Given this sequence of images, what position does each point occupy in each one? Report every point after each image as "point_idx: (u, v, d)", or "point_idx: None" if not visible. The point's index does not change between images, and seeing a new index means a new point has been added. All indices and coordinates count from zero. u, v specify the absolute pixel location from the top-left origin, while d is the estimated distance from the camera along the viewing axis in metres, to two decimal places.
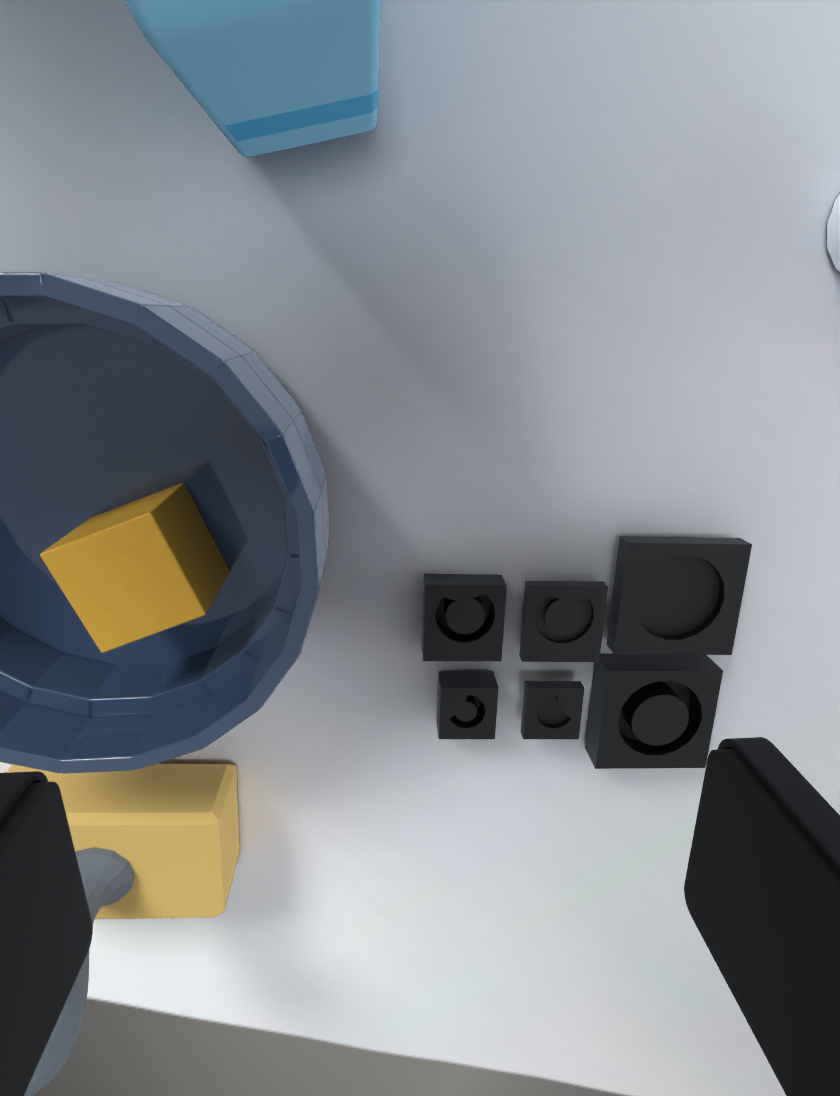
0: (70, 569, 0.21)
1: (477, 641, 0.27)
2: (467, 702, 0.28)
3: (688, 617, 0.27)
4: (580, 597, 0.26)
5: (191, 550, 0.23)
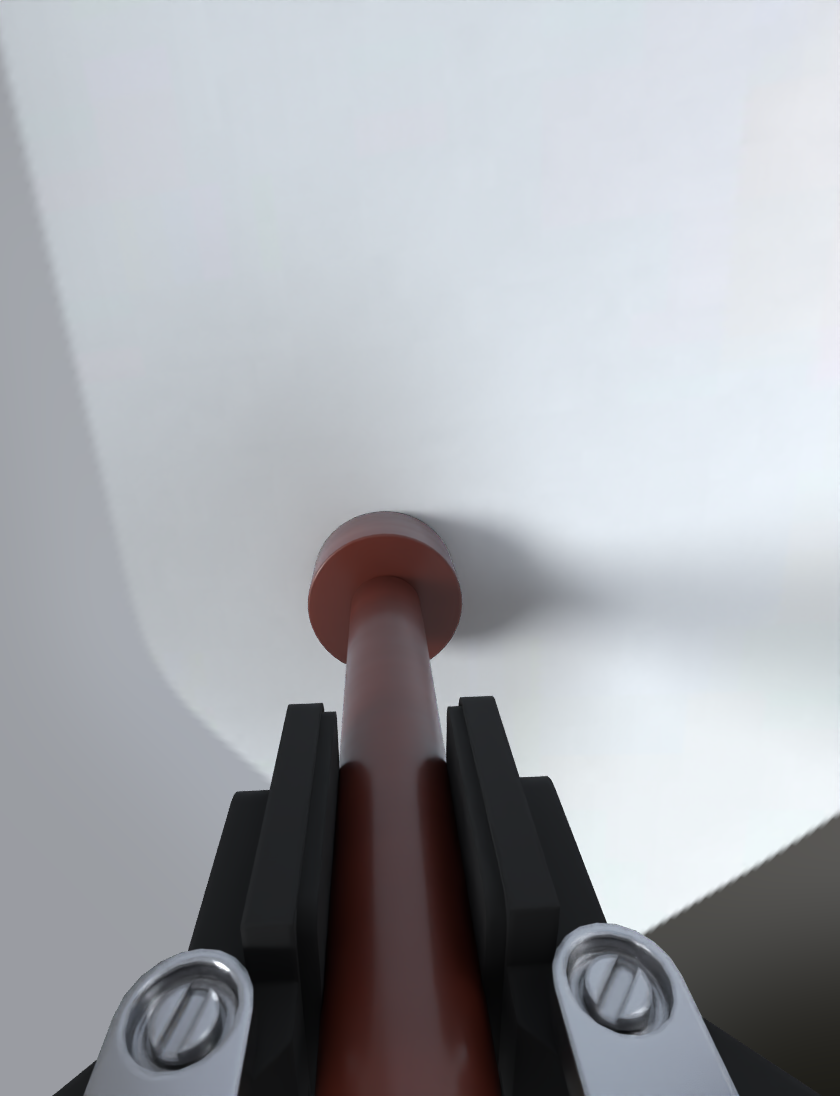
0: None
1: None
2: None
3: None
4: None
5: None
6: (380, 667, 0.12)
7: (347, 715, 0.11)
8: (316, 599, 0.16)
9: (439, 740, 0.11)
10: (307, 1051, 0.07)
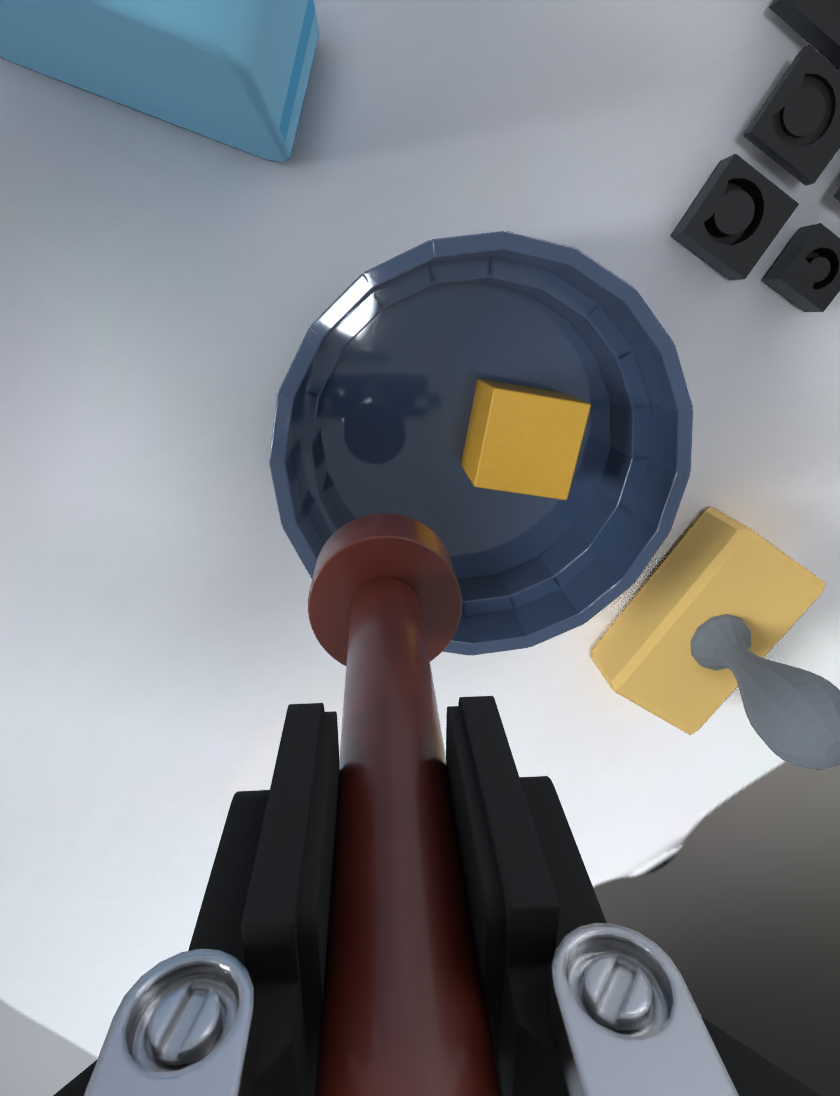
0: (497, 474, 0.26)
1: (764, 216, 0.26)
2: (811, 262, 0.27)
3: None
4: (798, 81, 0.25)
5: (534, 391, 0.26)
6: (380, 669, 0.12)
7: (347, 718, 0.11)
8: (316, 601, 0.16)
9: (439, 743, 0.11)
10: (307, 1051, 0.07)
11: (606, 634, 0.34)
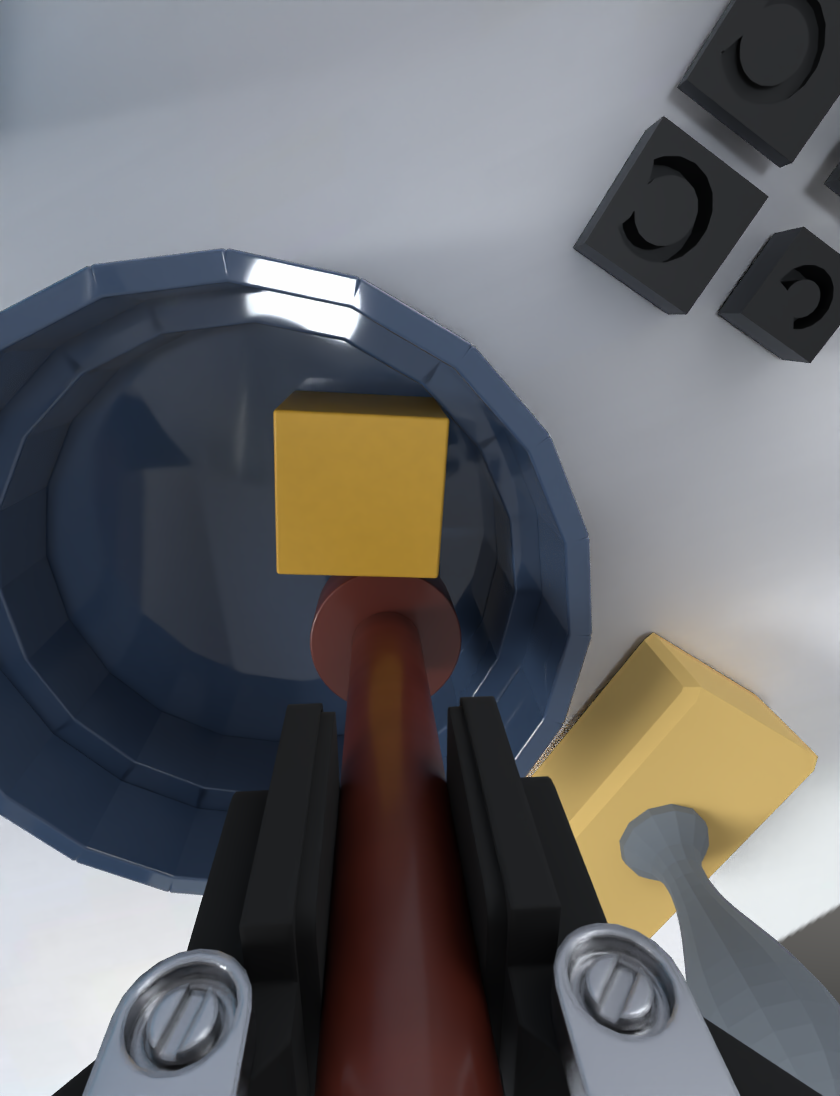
0: (310, 550, 0.15)
1: (714, 216, 0.17)
2: (791, 287, 0.17)
3: None
4: None
5: (364, 405, 0.16)
6: (383, 692, 0.12)
7: (349, 736, 0.11)
8: (318, 633, 0.17)
9: (440, 762, 0.11)
10: (306, 1051, 0.07)
11: None
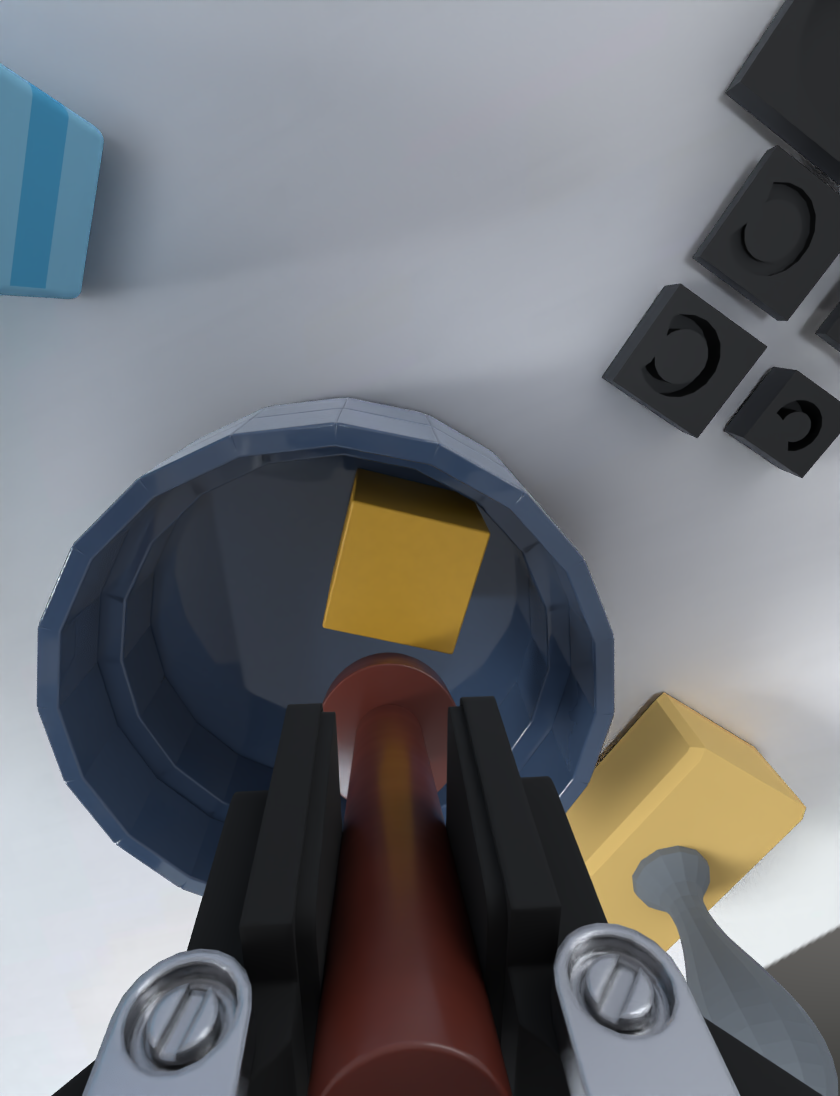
0: (354, 614, 0.18)
1: (721, 361, 0.20)
2: (786, 417, 0.20)
3: None
4: (763, 192, 0.18)
5: (420, 502, 0.19)
6: (389, 755, 0.13)
7: (354, 790, 0.12)
8: None
9: (442, 817, 0.11)
10: (306, 1052, 0.07)
11: None
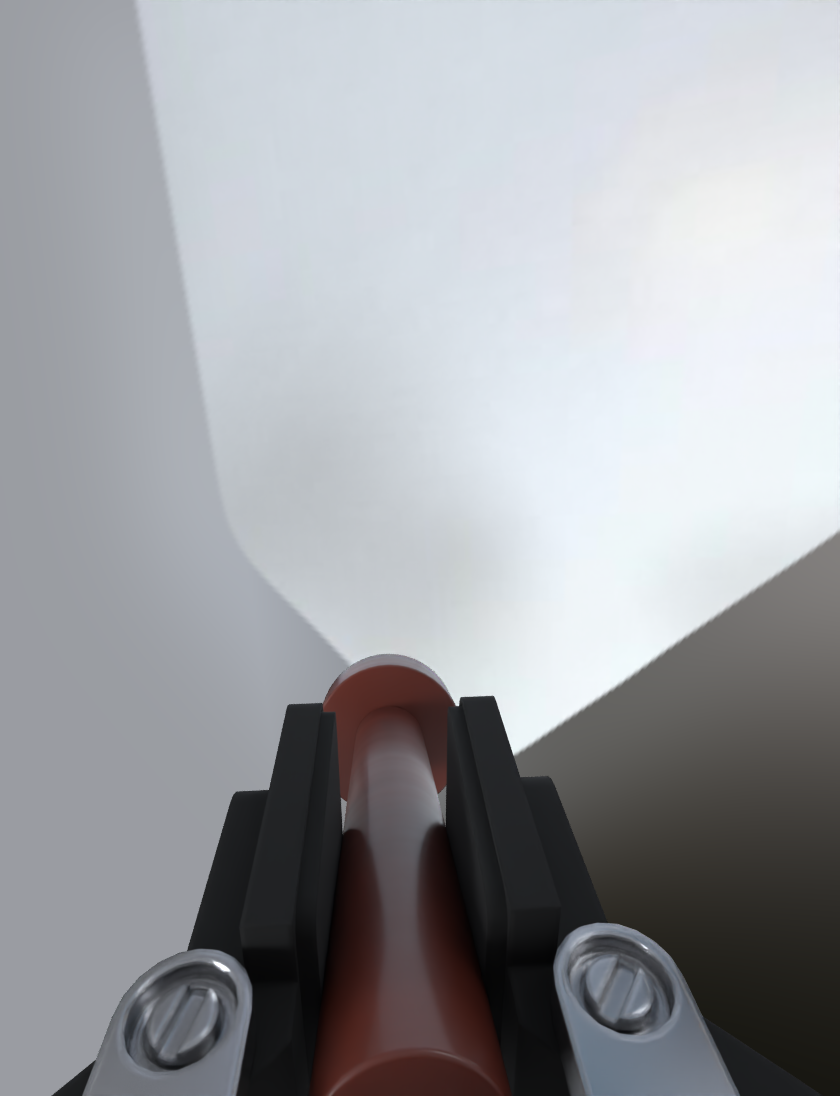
0: None
1: None
2: None
3: None
4: None
5: None
6: (390, 758, 0.13)
7: (355, 793, 0.12)
8: None
9: (443, 820, 0.11)
10: (306, 1051, 0.07)
11: None
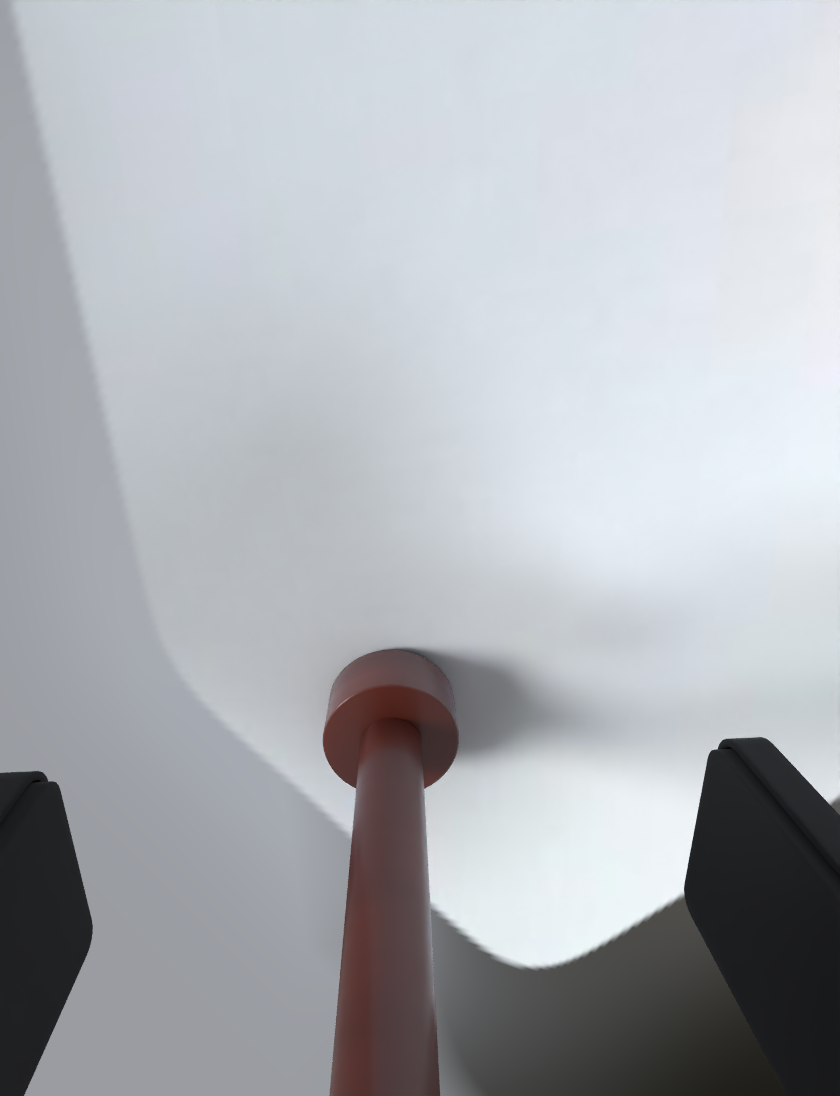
0: None
1: None
2: None
3: None
4: None
5: None
6: (386, 840, 0.14)
7: (354, 885, 0.13)
8: (331, 729, 0.18)
9: (428, 926, 0.13)
10: None
11: None
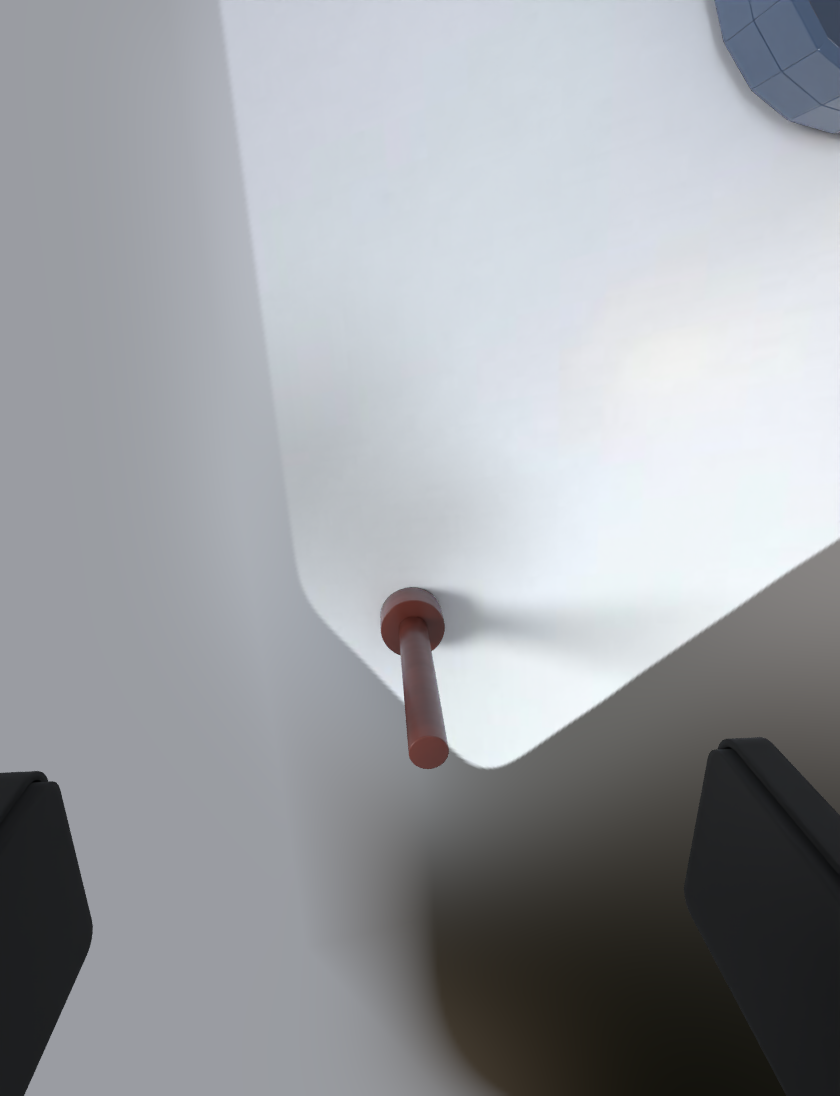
0: None
1: None
2: None
3: None
4: None
5: None
6: (417, 652, 0.35)
7: (405, 666, 0.35)
8: (385, 622, 0.39)
9: (435, 676, 0.34)
10: None
11: None
